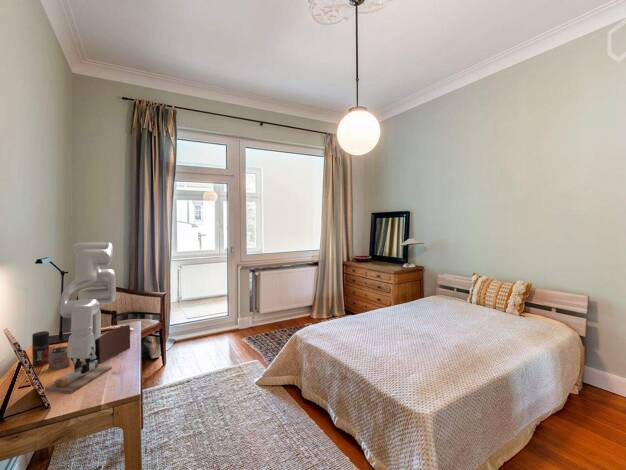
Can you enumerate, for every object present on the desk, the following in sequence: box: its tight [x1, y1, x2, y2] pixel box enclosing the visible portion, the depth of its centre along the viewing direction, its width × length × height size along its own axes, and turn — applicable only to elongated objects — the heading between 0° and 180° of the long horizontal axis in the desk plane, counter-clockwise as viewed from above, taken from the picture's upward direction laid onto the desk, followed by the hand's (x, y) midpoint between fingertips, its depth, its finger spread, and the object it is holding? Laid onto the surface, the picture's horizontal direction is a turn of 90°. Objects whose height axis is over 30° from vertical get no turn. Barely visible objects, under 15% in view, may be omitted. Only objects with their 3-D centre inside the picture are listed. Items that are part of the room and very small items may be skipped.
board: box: [44, 364, 113, 394], centre depth 133 cm, size 21×12×1 cm, turn 174°
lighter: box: [47, 345, 71, 371], centre depth 142 cm, size 8×3×10 cm, turn 114°
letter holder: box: [86, 324, 131, 365], centre depth 157 cm, size 10×20×14 cm, turn 171°
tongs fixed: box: [55, 360, 98, 387], centre depth 133 cm, size 18×2×3 cm, turn 174°
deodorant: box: [31, 330, 50, 368], centre depth 145 cm, size 6×6×15 cm
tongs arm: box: [60, 362, 95, 387], centre depth 132 cm, size 16×1×3 cm, turn 173°
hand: (81, 371), depth 134 cm, fingers open, 3 cm apart
